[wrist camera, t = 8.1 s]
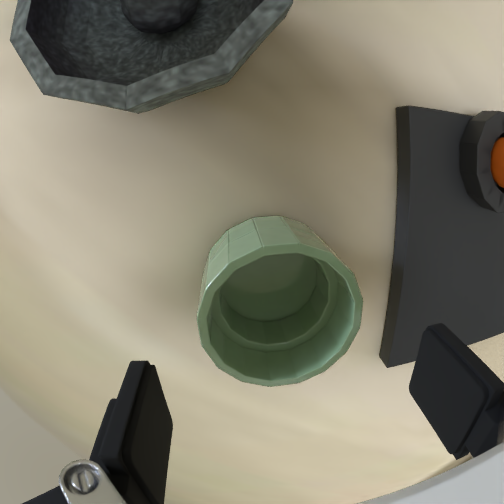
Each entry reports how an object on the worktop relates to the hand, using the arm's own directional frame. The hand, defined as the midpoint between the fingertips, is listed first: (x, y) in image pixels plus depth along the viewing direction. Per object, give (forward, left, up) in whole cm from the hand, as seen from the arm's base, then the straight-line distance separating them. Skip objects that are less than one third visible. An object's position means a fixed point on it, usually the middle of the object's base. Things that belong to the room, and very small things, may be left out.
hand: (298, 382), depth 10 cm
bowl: (0, 0, -8) cm, 8 cm away
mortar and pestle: (-14, -4, -8) cm, 17 cm away
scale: (-1, +14, -8) cm, 16 cm away
